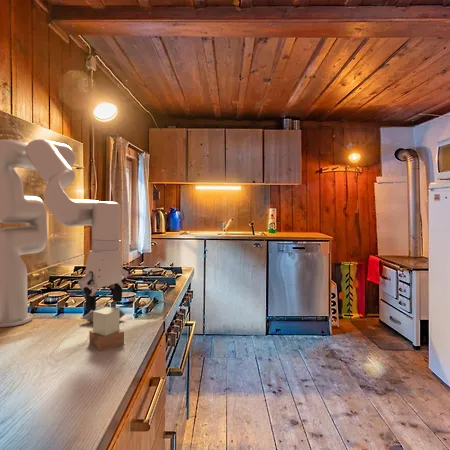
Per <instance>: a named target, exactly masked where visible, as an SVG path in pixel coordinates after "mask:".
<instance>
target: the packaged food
mask: <svg viewBox="0 0 450 450" xmlns="http://www.w3.org/2000/svg"><path fill="white" fill-rule="evenodd" d="M106 307H107V306H104V305H103V306H96V309H95V310H89V312H88V313H87V314H85V315H84V316H81V318H80V319H81V320H85V321H86V322H89V323H93V311H96V310H100V309H103V308H106ZM108 307H109V308H113V309H118V310H119V320H120V319H122V318H123V317H124V316H126V313H125V312H124V311H123V310H121V309H120V308H117V307H111V306H108Z"/></svg>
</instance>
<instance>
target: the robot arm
mask: <svg viewBox="0 0 450 450" xmlns="http://www.w3.org/2000/svg"><path fill="white" fill-rule="evenodd" d="M75 161H76V155H75V152H74V151H73V149H72V148H71V147H70V145H67V144H66V143H63V142H62V143H61V142H57V141H53V140H52V141H51V140H48V139H41V138H40V139H34V140H31V141H29V142H24V141H20V140H14V139H0V223H1V224H25V226H14V227H2V228H0V328H8V327H17V326H19V325H24V324H27V323H29V322H30V321H32V320H33V318H34V315H33V314H32V313H30V312H28V269H27V265H26V263H25V262H24V260H23V259H22V257H21V256H23V255H30V254H38V253H40V252H43V251H44V250H45V248H46V246H47V243H48V222H47V221H48V219H47V218H48V214H47V209H48V210H49V211H50V212H51V214H52V215H53V217H54V219H55V220H57V221H58V222H59V223H60V224H62V225H63V226H66V227H83V226H84V227H86V226H88V227H89V226H91V250H89V251H88V253H87V254H88V255H87V258H86V263H85V264H86V265H85V275H84V276H83V277H82V278H81V279H79V280H78V282H77V284H78V286H79V289H80V291H81V292H82V293H83V295H85V308H86V309H85V310H89V311H92V310H95V309H96V308H97V295H95V294H96V293H97V290H98V289H99V288H100V289H101V288H104V287H109V286H112V285H113V286H112V296H111V297H112V299H111V300H112V301H114V302H119V303H121V302H122V301H123V289H124V287H125V283H126V282H127V278H128V275H129V271H128V270H126V269H124V267H123V257H122V256H123V255H122V251H121V249H120V248H121V244H122V241H121V215H122V212H121V211H122V208H121V207H122V206H121V204H119V202H116V201H101V200H100V201H99V200H95V199H79V198H78V199H75V198H74V199H73V198H70V196H68V194H67V193H66V192H65V189H67V188H68V187H69V186H70V185H72V183H73V182H74V180H75V177H76V174H75V171H74V170H73V168H72V167H73V166H74V164H75ZM16 168H17V169H18V168H19V169H25V170H35V171H36V173H38V174H39V176H40V177H41V179H42V180H43V181H44V182H45V183H46V185H45V188H44V201H45V202H44V201H43V200H42V199H41V197H39V196H35V195H25V193H24V182H23V180H22V177H21V176H20V174H19V173H18V171H17V170H16ZM45 204H46V205H45ZM46 207H47V208H46Z"/></svg>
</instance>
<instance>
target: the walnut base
mask: <svg viewBox="0 0 450 450" xmlns="http://www.w3.org/2000/svg"><path fill="white" fill-rule="evenodd" d="M88 336H89V339H88V340H89V345H90V346H92V347H94V348H95V349H96V350H98V351H99V352H103V351H106V350H110V349H113V348H116V347H120V346H123V345H125V331H124V330H122V329H121V328H119V331H117V332H114V333H112V334H109V335H107V336H104V335H101V334H97V333H94V332H93V329H91V330H89V335H88Z"/></svg>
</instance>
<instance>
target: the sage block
mask: <svg viewBox="0 0 450 450" xmlns="http://www.w3.org/2000/svg"><path fill="white" fill-rule="evenodd" d="M109 307H110V306H106V308H103V309H100V310H96V311H93V322H92V325H93V326H92V330H93V332H94V333H97V334H101V335H104V336H107V335H109V334H112V333H114V332H117V331H119V329H120V319H119V310H118V309H119V308H118V309H113V308H114V307H112V308H109Z"/></svg>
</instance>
